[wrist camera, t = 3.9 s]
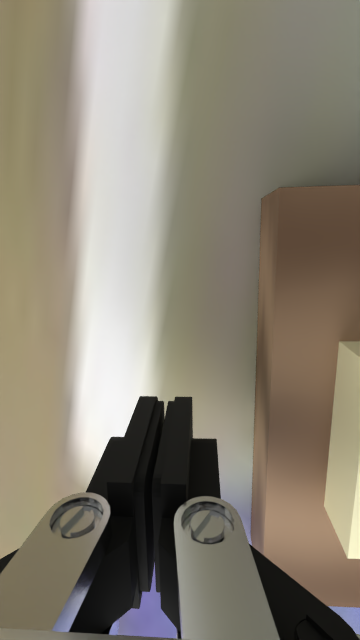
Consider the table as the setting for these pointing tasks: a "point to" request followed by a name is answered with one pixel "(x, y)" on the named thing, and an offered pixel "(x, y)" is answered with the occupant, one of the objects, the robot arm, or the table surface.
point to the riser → (303, 380)
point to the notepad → (345, 451)
